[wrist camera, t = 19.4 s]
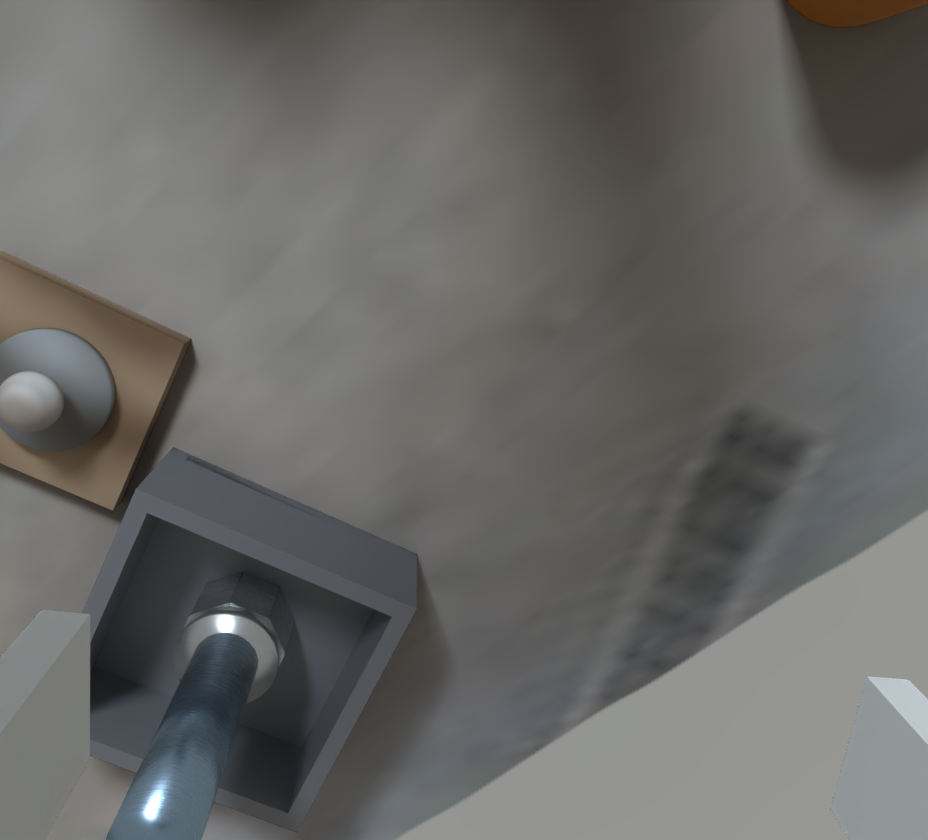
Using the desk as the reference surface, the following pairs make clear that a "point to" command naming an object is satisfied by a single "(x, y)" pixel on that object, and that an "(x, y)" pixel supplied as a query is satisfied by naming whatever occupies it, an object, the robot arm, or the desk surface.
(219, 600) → the strut
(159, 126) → the desk surface
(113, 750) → the bin
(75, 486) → the stud base
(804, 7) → the mug
